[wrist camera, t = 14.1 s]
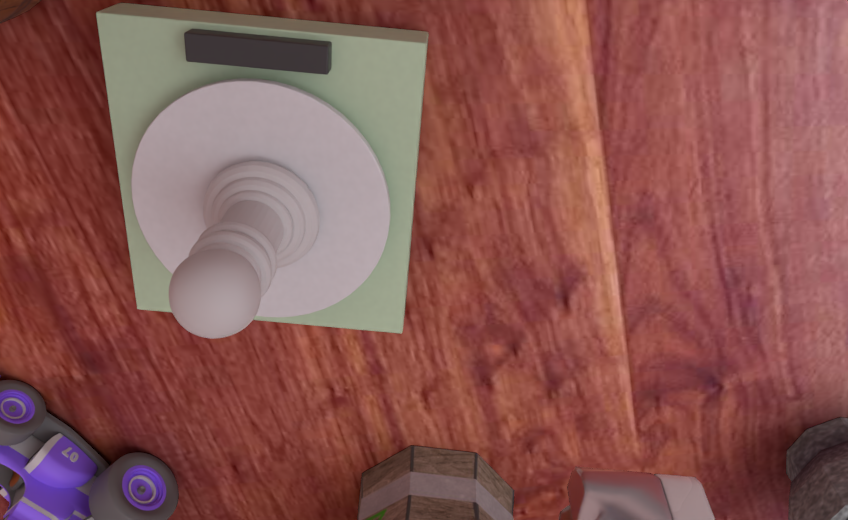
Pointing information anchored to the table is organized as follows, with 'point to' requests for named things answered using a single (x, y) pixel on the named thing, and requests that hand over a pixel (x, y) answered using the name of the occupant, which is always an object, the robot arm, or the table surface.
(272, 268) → the chess piece
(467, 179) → the table surface
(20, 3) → the wooden figurine
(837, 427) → the mortar and pestle
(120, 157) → the scale
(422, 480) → the mug
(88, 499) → the toy race car
